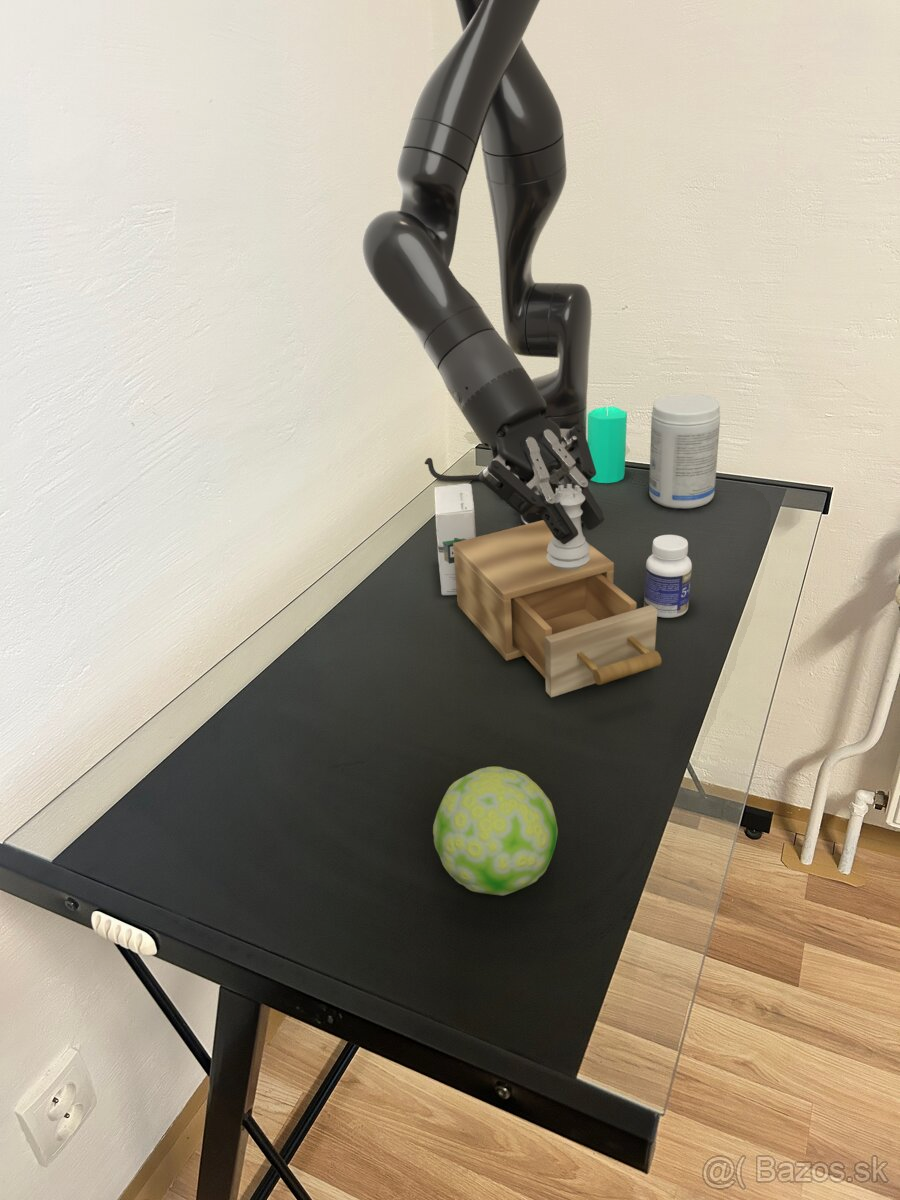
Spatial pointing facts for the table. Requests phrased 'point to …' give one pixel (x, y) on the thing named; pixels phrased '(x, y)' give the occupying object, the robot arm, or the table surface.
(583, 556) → the rook chess piece
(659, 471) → the supplement tub
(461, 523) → the ink box
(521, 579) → the cabinet
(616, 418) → the candle
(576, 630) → the drawer
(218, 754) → the table surface
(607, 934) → the table surface
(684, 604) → the pill bottle
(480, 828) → the decorative ball
